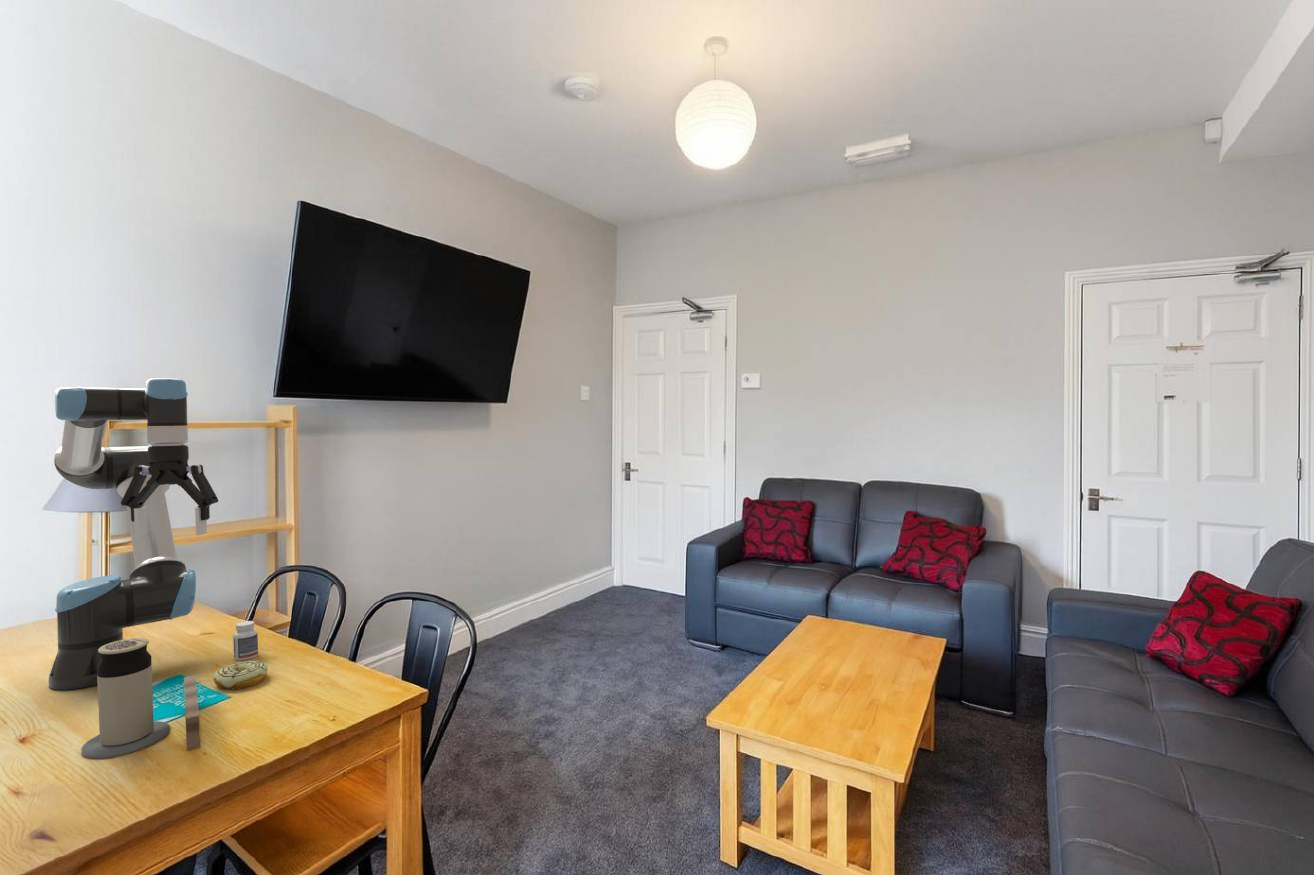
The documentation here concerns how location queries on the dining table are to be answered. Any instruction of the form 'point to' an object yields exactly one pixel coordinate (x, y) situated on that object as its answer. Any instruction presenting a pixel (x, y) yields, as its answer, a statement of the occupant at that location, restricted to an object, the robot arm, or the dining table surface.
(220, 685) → the decorated donut
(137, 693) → the travel mug
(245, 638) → the pill bottle
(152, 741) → the grey oval pebble
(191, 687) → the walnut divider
